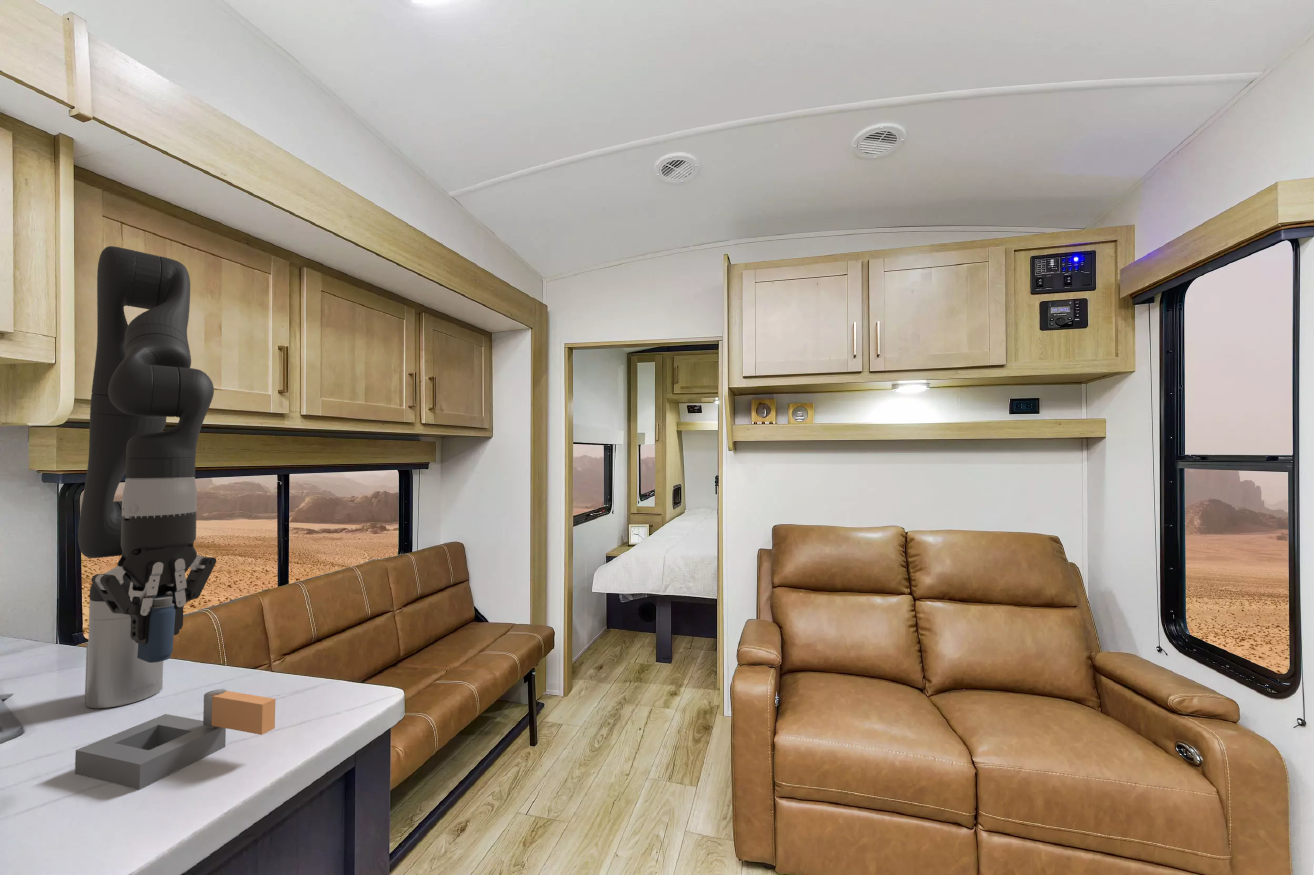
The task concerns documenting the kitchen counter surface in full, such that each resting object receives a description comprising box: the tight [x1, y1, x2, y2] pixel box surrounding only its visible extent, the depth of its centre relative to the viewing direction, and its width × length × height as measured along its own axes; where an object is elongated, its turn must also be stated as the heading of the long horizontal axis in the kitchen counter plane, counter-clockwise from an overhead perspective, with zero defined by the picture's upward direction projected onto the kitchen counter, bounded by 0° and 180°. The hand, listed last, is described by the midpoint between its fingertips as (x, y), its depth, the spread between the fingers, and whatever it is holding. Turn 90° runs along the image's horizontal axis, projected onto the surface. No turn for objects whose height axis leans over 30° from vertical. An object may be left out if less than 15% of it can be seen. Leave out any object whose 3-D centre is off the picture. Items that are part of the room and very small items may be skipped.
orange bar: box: [202, 688, 276, 736], centre depth 74 cm, size 11×2×4 cm, turn 74°
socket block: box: [74, 713, 227, 790], centre depth 72 cm, size 12×10×3 cm
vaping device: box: [137, 584, 175, 663], centre depth 73 cm, size 3×5×12 cm, turn 62°
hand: (157, 638), depth 72 cm, fingers closed on vaping device, 2 cm apart
